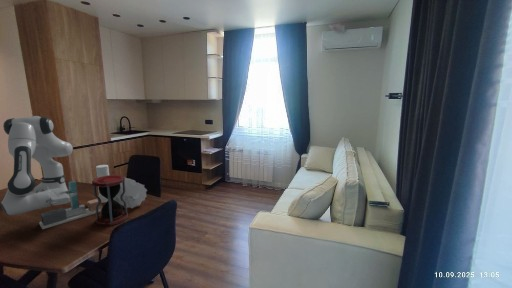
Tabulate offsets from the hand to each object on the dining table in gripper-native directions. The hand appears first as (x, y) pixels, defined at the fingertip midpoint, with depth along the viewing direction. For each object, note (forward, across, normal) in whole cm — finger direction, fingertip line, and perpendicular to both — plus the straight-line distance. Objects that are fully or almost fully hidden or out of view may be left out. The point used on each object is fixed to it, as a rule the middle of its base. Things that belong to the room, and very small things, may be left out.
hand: (75, 192), depth 141 cm
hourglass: (+12, -20, +15) cm, 28 cm away
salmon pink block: (+9, 0, +14) cm, 16 cm away
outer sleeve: (-11, 0, +14) cm, 18 cm away
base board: (-2, 0, +15) cm, 15 cm away
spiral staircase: (+27, -4, +15) cm, 31 cm away
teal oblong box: (-4, 0, +13) cm, 14 cm away
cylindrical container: (+19, +12, +15) cm, 27 cm away
